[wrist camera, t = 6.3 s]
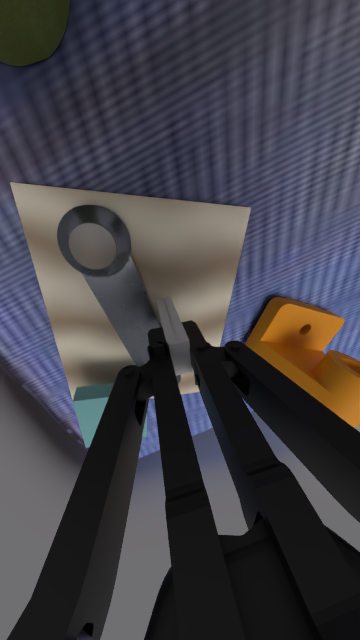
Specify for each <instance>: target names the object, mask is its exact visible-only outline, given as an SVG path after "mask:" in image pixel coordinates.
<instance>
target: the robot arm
mask: <svg viewBox="0 0 360 640" xmlns="http://www.w3.org/2000/svg"><path fill="white" fill-rule="evenodd" d="M156 303H157V308H158V313H159V318H160V323H161V327H159V328H155V329H150V330H149V332H148V341H149V346H148V347H147V351H148V355H149V358H150V359H149V360H148V362H147V363H145V364H144V365H142V366H140V367H138V366H136V365H128V366H126V367H124V368H122V369H121V370H120V371H119V373H118V375H117V377H116V380H115V383H114V385H113V388H112V390H111V393H110V395H109V398H108V401H107V403H106V406H105V408H104V411H103V414H102V416H101V419H100V421H99V424H98V426H97V429H96V432H95V434H94V437H93V439H92V442H91V445H90V447H89V450H88V452H87V455H86V458H85V460H84V463H83V465H82V468H81V470H80V473H79V476H78V478H77V481H76V483H75V486H74V489H73V491H72V494H71V496H70V499H69V501H68V504H67V507H66V509H65V512H64V514H63V517H62V520H61V522H60V525H59V528H58V530H57V532H56V535H55V538H54V541H53V543H52V546H51V548H50V551H49V553H48V556H47V558H46V561H45V563H44V566H43V569H42V571H41V574H40V576H39V579H38V582H37V584H36V587H35V589H34V592H33V594H32V597H31V599H30V601H29V603H28V604H27V606H26V608H25V610H24V611H23V613H22V615H21V617H20V618H19V620H18V622H17V623H16V625H15V627H14V628H13V630H12V632H11V634H10V635H9V637H8V639H7V640H100V637H101V635H102V632H103V628H104V624H105V621H106V617H107V614H108V610H109V607H110V603H111V598H112V594H113V589H114V585H115V580H116V575H117V569H118V564H119V559H120V553H121V548H122V543H123V537H124V532H125V526H126V521H127V516H128V510H129V505H130V498H131V494H132V489H133V483H134V478H135V472H136V467H137V461H138V456H139V451H140V445H141V440H142V434H143V429H144V424H145V418H146V413H147V407H148V402H149V398H151V397H152V396H154V400H155V409H156V417H157V426H158V434H159V443H160V451H161V460H162V468H163V477H164V486H165V495H166V502H165V509H166V520H167V529H168V539H169V548H170V557H171V568H170V569H169V571H168V573H167V575H166V576H165V578H164V580H163V583H162V585H161V588H160V590H159V593H158V596H157V599H156V602H155V605H154V608H153V612H152V615H151V618H150V622H149V625H148V628H147V632H146V635H145V638H144V640H360V552H359V551H358V550H356V549H355V548H354V547H353V546H351V545H350V544H349V543H347V542H346V541H345V540H343V539H342V538H341V537H340V536H338V535H337V534H336V533H335V532H333V531H332V530H330V529H329V528H328V527H326V526H325V525H324V524H323V523H322V521H321V519H320V518H319V516H318V514H317V513H316V511H315V510H314V508H313V506H312V505H311V503H310V501H309V500H308V498H307V497H306V495H305V493H304V491H303V490H302V488H301V486H300V485H299V483H298V481H297V480H296V478H295V476H294V475H293V473H292V472H291V470H290V469H289V468H288V467H287V466H286V465H285V464H283V463H281V462H280V461H279V460H278V459H277V458H276V456H275V455H274V453H273V451H272V449H271V448H270V446H269V444H268V442H267V441H266V439H265V437H264V435H263V434H262V432H261V430H260V429H259V427H258V425H257V424H256V422H255V420H254V418H253V416H252V415H251V413H250V411H249V409H248V408H247V406H246V404H245V403H244V401H243V399H244V400H245V401H246V403H247V404H248V405H249V406H250V407H251V408H252V409H253V410H254V411H255V412H256V413H257V414H258V416H259V417H260V418H261V419H262V420H263V421H264V422H265V423H266V424H267V425H268V426H269V427H270V429H271V430H272V431H273V432H274V433H275V434H276V435H277V436H278V437H279V438H280V439H281V440H282V442H283V443H284V444H285V445H286V446H287V447H288V448H289V449H290V450H291V451H292V452H293V453H294V455H295V456H296V457H297V458H298V459H299V460H300V461H301V462H302V463H303V465H304V466H306V468H307V469H308V470H309V471H310V472H311V473H312V474H313V475H314V476H315V477H316V479H317V480H318V481H319V482H320V483H321V484H322V485H323V486H324V487H325V488H326V490H327V491H328V492H329V493H330V494H331V495H332V496H333V497H334V498H335V499H336V500H337V501H338V502H339V503H340V504H341V505H342V506H343V507H344V508H345V509H346V510H347V511H348V512H349V513H350V514H351V515H352V516H353V517H354V518H355V519H356V520H357V521H358V522H360V432H359V431H357V430H356V429H355V428H354V427H352V426H351V425H350V424H348V423H347V422H346V421H344V420H343V419H342V418H340V417H339V416H338V415H337V414H335V413H334V412H333V411H331V410H330V409H329V408H327V407H326V406H325V405H323V404H322V403H321V402H320V401H318V400H317V399H316V398H314V397H313V396H312V395H310V394H309V393H308V392H306V391H305V390H304V389H303V388H301V387H300V386H299V385H297V384H296V383H295V382H293V381H292V380H291V379H289V378H288V377H287V376H285V375H284V374H283V373H282V372H280V371H279V370H278V369H276V368H275V367H274V366H272V365H271V364H270V363H268V362H267V361H266V360H265V359H263V358H262V357H261V356H259V355H258V354H257V353H255V352H254V351H253V350H251V349H250V348H249V347H248V346H246V345H245V344H244V343H242V342H240V341H229V342H227V343H226V344H225V346H224V347H214V346H212V345H211V344H210V343H208V342H206V340H205V338H204V337H203V335H202V333H201V331H200V329H199V328H198V326H197V324H196V323H195V322H194V321H192V320H190V321H185V322H181V320H180V318H179V315H178V313H177V311H176V308H175V306H174V304H173V301H172V299H171V297H169V298H164V299H159V300H156ZM192 368H193V371H194V377H195V385H197V386H198V388H199V391H200V394H201V396H202V399H203V402H204V404H205V407H206V410H207V412H208V415H209V418H210V421H211V423H212V426H213V428H214V431H215V434H216V436H217V439H218V442H219V445H220V447H221V450H222V453H223V455H224V458H225V461H226V463H227V466H228V469H229V471H230V474H231V477H232V479H233V482H234V485H235V487H236V490H237V493H238V496H239V499H240V503H241V507H242V511H243V514H244V518H245V521H246V524H247V527H248V529H249V530H248V531H247V532H246V533H245V534H244V535H241V536H233V535H218V533H217V529H216V526H215V521H214V518H213V514H212V510H211V506H210V503H209V499H208V495H207V492H206V489H205V486H204V483H203V479H202V475H201V471H200V467H199V464H198V460H197V456H196V452H195V448H194V444H193V440H192V436H191V432H190V429H189V425H188V421H187V417H186V413H185V409H184V405H183V401H182V397H181V394H180V390H179V386H178V382H177V378H176V376H177V375H181V374H185V373H189V372H193V371H192ZM242 398H243V399H242Z"/></svg>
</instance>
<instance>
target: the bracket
mask: <svg viewBox="0 0 360 640" xmlns="http://www.w3.org/2000/svg"><path fill="white" fill-rule="evenodd" d="M343 324H344V319H343V318H341V317H339V316H337V315H335V314H334V313H332V312H330V311H327V310H323V309H320V308H319V307H317V306H314V305H310V304H307V303H303V302H300V301H296V300H293V299H290V298H286V297H285V298H281V297H275V298H273V299H271V300H270V301H269V303H268V305H267V306H266V308H265V310H264V312H263V313H262V315H261V317H260V319H259V320H258V322H257V324H256V326H255V327H254V329H253V331H252V332H251V334H250V336H249V338H248V339H247V341H246V343H245V345H246V346H248V347H249V348H250V349H251V350H253V351H254V352H255V353H257V354H258V355H259V356H261V357H262V358H263V359H265V360H266V361H267V362H268V363H270V364H271V365H272V366H274V367H275V368H276V369H278V370H279V371H280V372H282V373H283V374H284V375H285V376H287V377H288V378H289V379H291V380H292V381H293V382H295V383H296V384H297V385H299V386H300V387H301V388H303V389H304V390H305V391H306V392H308V393H309V394H310V395H312V396H313V397H314V398H316V399H317V400H318V401H320V402H321V403H322V404H323V405H325V406H326V407H327V408H329V409H330V410H331V411H333V412H334V413H335V414H337V415H338V416H339V417H340V418H342V419H343V420H344V421H346V422H347V423H348V424H350V425H351V426H352V427H354V428H356V427H357V426H358V425H359V424H360V361H358V360H356V359H354V358H352V357H350V356H348V355H346V354H343V353H341V352H338V351H333V350H330V351H328V352H327V354H326V355H325V354H324V353H323V352H322V351H323V349H324V348H325V347H326V346H327V344H328V343H329V342H330V341H331V339H332V338H333V337H334V336H335V334H336V333H337V332H338V331H339V329H340V328H341V327H342V326H343Z"/></svg>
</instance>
